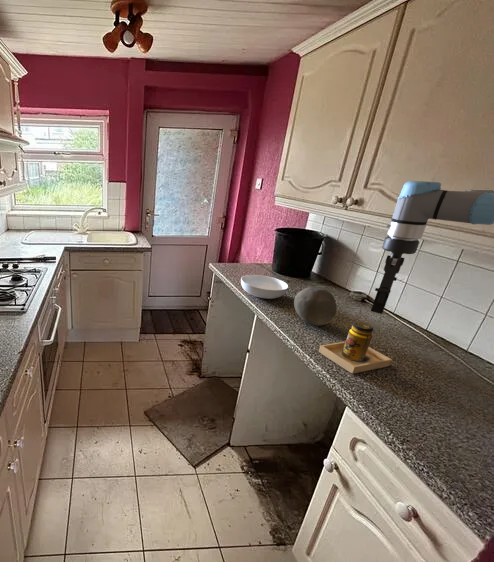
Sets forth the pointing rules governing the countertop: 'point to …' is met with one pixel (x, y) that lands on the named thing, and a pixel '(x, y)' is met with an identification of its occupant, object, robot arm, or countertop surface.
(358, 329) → the condiment
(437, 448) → the countertop surface
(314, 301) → the grey round rock
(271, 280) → the serving bowl
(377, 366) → the tray
